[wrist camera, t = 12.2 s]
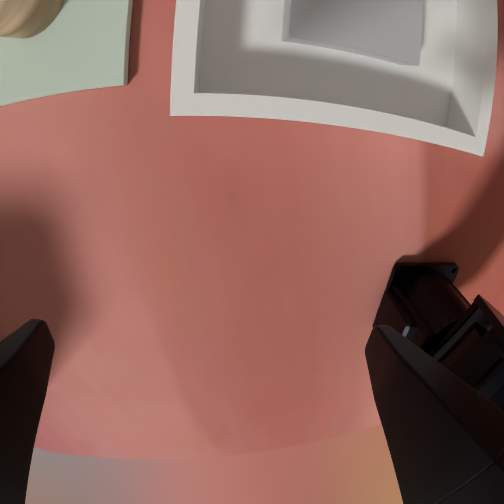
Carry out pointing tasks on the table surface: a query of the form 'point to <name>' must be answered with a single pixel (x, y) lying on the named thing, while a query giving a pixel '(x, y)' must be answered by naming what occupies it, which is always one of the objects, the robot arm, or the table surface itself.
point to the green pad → (69, 52)
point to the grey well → (341, 64)
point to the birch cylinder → (27, 17)
